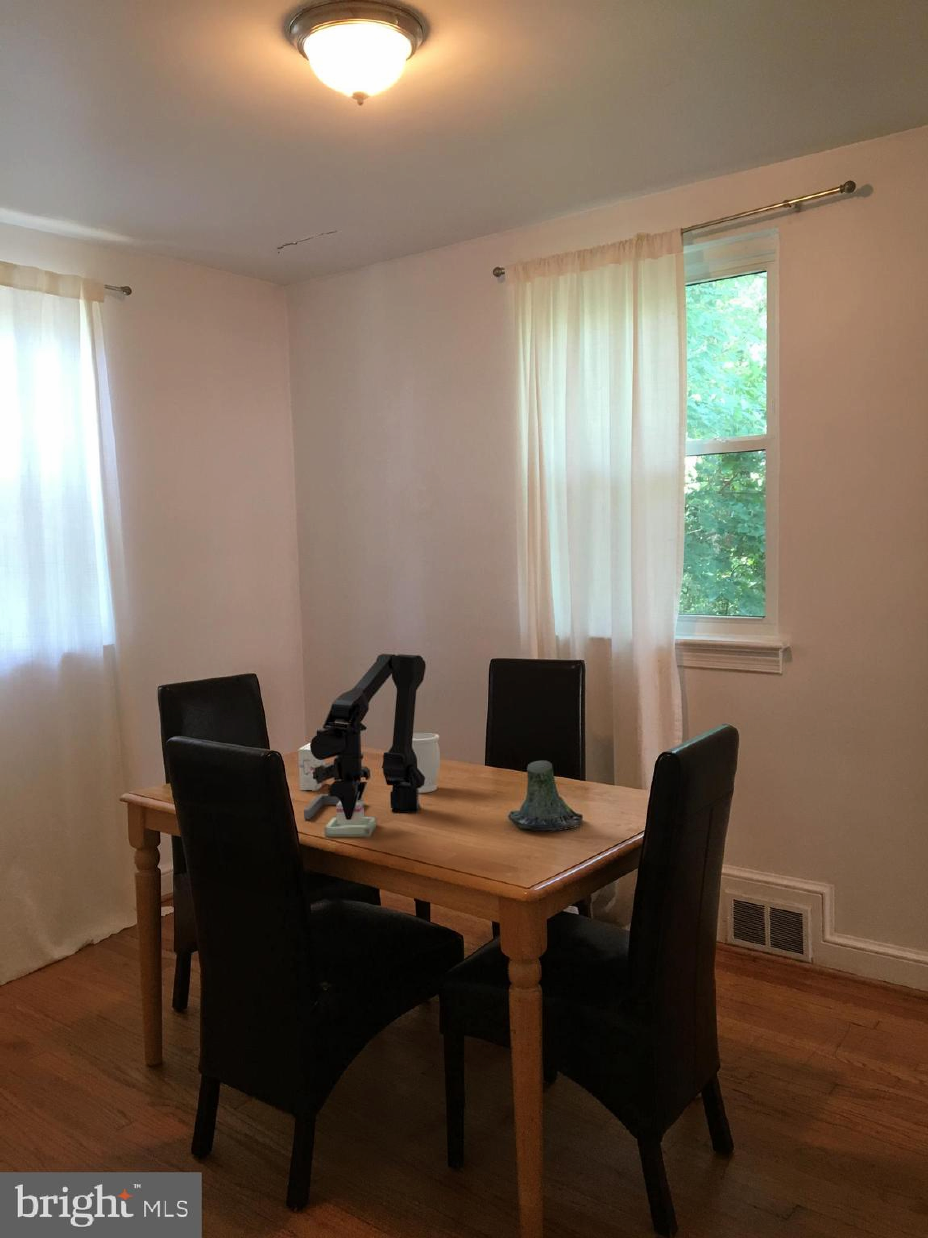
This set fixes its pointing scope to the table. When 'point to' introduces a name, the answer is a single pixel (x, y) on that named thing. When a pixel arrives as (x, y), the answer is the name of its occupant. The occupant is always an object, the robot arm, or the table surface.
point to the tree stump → (543, 802)
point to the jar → (427, 758)
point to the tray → (350, 828)
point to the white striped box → (356, 817)
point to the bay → (319, 804)
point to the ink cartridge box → (308, 769)
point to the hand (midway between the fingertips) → (350, 816)
